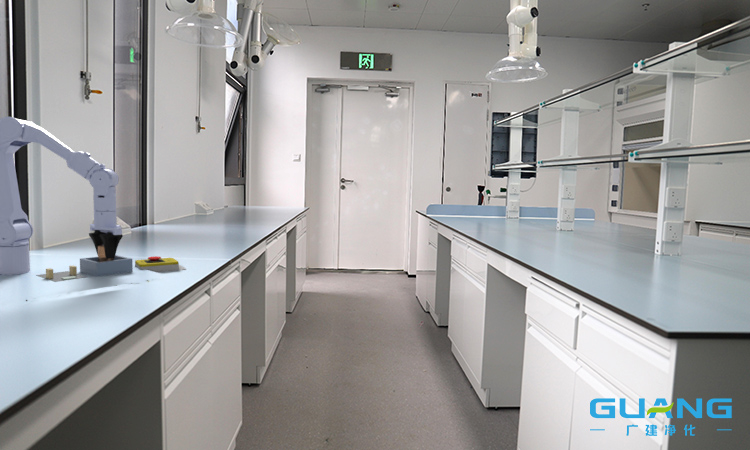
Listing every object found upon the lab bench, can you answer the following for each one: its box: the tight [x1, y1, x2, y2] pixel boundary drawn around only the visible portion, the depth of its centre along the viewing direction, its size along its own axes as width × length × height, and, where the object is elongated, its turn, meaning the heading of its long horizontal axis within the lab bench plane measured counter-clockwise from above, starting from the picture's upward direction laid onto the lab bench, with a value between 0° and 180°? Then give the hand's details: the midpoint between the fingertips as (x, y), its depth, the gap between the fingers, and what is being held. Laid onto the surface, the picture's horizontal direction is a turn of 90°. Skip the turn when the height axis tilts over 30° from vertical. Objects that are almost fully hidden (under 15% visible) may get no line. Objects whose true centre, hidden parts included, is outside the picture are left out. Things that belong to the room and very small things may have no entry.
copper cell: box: [97, 245, 114, 262], centre depth 137 cm, size 4×4×6 cm
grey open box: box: [79, 254, 134, 277], centre depth 138 cm, size 10×10×5 cm
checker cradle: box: [35, 265, 87, 283], centre depth 130 cm, size 12×8×4 cm, turn 56°
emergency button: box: [134, 255, 187, 273], centre depth 149 cm, size 9×4×15 cm
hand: (106, 257), depth 137 cm, fingers open, 4 cm apart
